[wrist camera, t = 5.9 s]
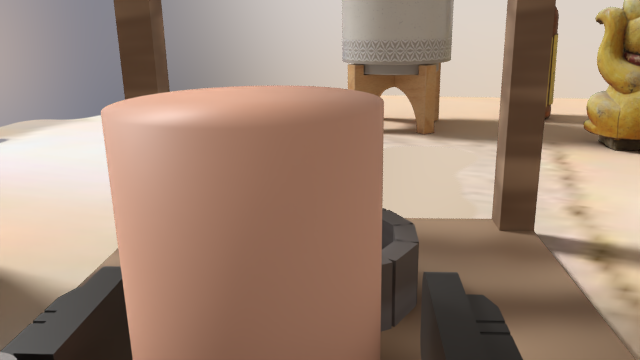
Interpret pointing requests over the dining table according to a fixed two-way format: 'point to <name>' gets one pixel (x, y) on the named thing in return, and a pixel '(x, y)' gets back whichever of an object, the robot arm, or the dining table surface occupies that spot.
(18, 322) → the dining table surface
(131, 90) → the slanted top stand
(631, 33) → the decorative figurine
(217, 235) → the peg
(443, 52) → the planter
